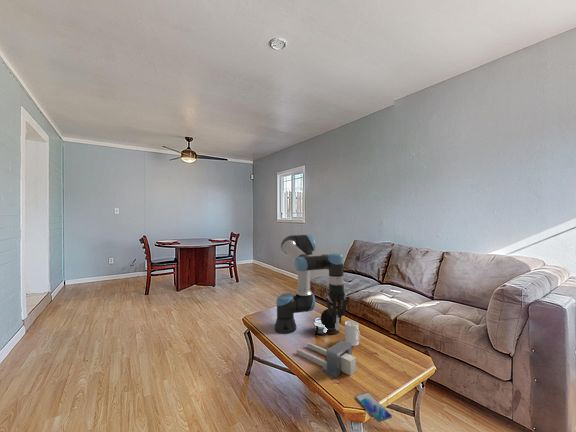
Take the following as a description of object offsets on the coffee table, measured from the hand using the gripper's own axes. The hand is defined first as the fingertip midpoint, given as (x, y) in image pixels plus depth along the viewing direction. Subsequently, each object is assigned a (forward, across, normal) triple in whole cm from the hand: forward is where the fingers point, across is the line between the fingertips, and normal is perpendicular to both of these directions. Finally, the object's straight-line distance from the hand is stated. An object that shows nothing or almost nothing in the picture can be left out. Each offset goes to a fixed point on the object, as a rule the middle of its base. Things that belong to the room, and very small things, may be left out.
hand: (337, 329), depth 137 cm
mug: (+20, +17, +22) cm, 34 cm away
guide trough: (+19, -8, +11) cm, 24 cm away
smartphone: (+21, +5, -29) cm, 36 cm away
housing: (+20, +1, 0) cm, 20 cm away
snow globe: (+19, +8, +41) cm, 46 cm away
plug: (+20, +1, 0) cm, 20 cm away
